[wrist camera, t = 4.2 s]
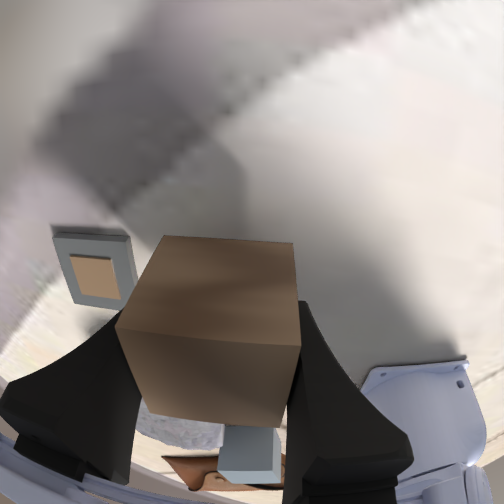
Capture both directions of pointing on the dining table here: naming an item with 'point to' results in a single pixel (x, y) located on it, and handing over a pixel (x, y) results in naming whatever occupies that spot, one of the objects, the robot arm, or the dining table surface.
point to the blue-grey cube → (250, 455)
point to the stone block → (180, 430)
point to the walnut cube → (214, 330)
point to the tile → (97, 268)
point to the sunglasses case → (214, 475)
